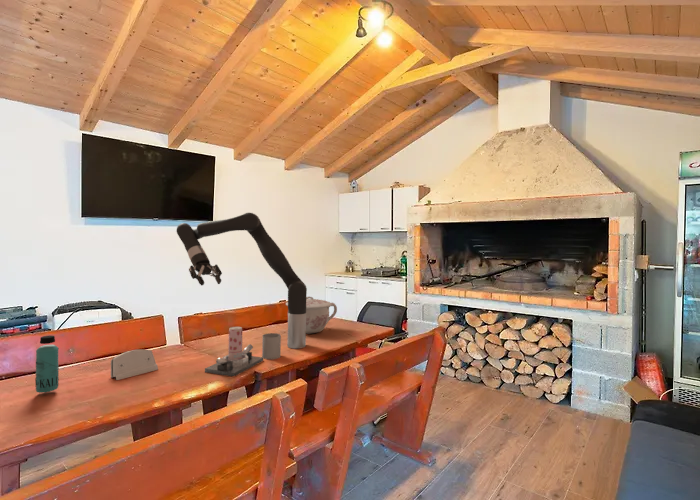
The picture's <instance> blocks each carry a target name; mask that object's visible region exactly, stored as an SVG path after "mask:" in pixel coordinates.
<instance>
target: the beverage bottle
mask: <svg viewBox="0 0 700 500" xmlns="http://www.w3.org/2000/svg"><path fill="white" fill-rule="evenodd" d="M55 342H56V337H55V335H43V336H41V337H40V340H39V343H40V344H42V345H41V346H39V347H38V348H37V349H36V350H35V353H36V354H35V379H34V380H35V383H34V384H35V391H36V392H37V393H42V394H43V393H48V392H53V391H56V390H57V389H59V381H60V379H59V349H60V348H59V347H58V345H56V344H53V343H55ZM40 344H39V345H40Z"/></svg>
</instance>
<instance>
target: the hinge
mask: <svg viewBox="0 0 700 500" xmlns="http://www.w3.org/2000/svg"><path fill="white" fill-rule="evenodd" d="M158 370H159V366H158V364H157V363H156V359H155V356H154V353H153V351H152V350H151V349H133V350H129V351H124V352H123V353H121V354H118V355H116V356H114V357H112V359H111V360H110V378H115V380H116V381H119V380H123V379H127V378H130V377H135V376H139V375H143V374H146V373H149V372H153V371H158Z"/></svg>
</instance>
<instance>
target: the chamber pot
mask: <svg viewBox="0 0 700 500" xmlns="http://www.w3.org/2000/svg"><path fill="white" fill-rule="evenodd" d="M285 306H287V307H288V301H287V302H285ZM331 307H333V312H332V314H331V315H330V308H331ZM337 313H338V307H337V304H336V303H334V302H330V301H327V300H325V299H319V298H318V299H316V298H314V297H312V296H306V335H312V334H317V333H321V331H323V330H324V329H325V328H326V325H327V324H328V323H329V322H330V321H331V320H332V319H333V318H334V317H335V316H336V314H337Z"/></svg>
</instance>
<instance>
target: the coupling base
mask: <svg viewBox="0 0 700 500" xmlns="http://www.w3.org/2000/svg"><path fill="white" fill-rule="evenodd" d="M253 348H254V346H253V345H252V344H250V343H249V344H248V345H247V346H246V347H245V348H244V349H242V359H239V360H229V359H228V354H227V355H224V356H222V357H218V358H217V359H216V360H215V362H216V363H214V364H212V365H209V366H207V367H205V368H204V373H207V374H214V375H220V376H227V377H232V376H235V377H236V376H238V375H241V373H243V372H246V371H248V370H249V369H251V368H252V367H255V366H257V365H258V364H261V363H263V362H264V358H263V357H261V356H256V355H253V352H252V350H253Z"/></svg>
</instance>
